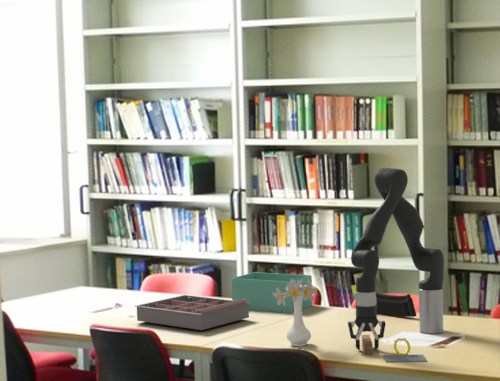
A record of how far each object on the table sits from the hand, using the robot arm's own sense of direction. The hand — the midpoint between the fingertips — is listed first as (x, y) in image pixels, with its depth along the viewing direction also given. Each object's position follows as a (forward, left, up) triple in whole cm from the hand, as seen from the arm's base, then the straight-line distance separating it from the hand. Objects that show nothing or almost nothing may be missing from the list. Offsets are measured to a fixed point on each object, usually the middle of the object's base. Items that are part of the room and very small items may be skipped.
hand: (367, 349), depth 318 cm
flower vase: (-11, -25, -1) cm, 27 cm away
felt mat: (+13, +12, 0) cm, 18 cm away
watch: (+6, +12, -1) cm, 13 cm away
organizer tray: (-60, -71, -1) cm, 93 cm away
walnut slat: (0, 0, -1) cm, 1 cm away
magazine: (-66, +14, -1) cm, 68 cm away
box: (-92, -37, -1) cm, 99 cm away
